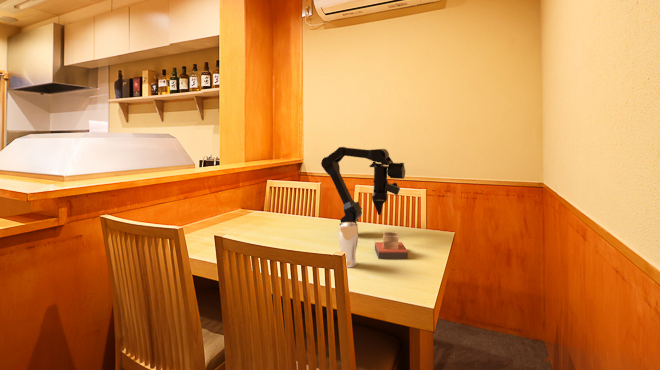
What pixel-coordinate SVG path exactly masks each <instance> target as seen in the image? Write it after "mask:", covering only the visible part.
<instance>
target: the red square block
mask: <svg viewBox="0 0 660 370" xmlns="http://www.w3.org/2000/svg"><path fill="white" fill-rule="evenodd" d="M374 252H375V253H376V256H377V259H378V260H409V259H408V257H409V255H408V252H409V251H408V249H407V248H406V246H405V245H404V243H403V242H402V241H398V249H383V241H375V242H374Z"/></svg>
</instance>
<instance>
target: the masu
mask: <svg viewBox="0 0 660 370" xmlns="http://www.w3.org/2000/svg"><path fill="white" fill-rule="evenodd" d="M382 235H383V236H382V242H383V249H398V242H399V233H398V232H395V231H394V232H393V231H390V232H388V231H383V232H382Z"/></svg>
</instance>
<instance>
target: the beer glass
mask: <svg viewBox="0 0 660 370" xmlns="http://www.w3.org/2000/svg"><path fill="white" fill-rule="evenodd" d="M358 225H359V224H358V223H354V222H343V223H341V222H339V224H338V243H339V248H340V249H339V250H340V253H341V252H345V253H346V259H347V267H348V268H355V267H356V266H357V263H358V262H357V260H356V259H357V258H356V257H357V256H356V254H357V247H358V242H359V226H358Z"/></svg>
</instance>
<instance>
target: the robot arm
mask: <svg viewBox="0 0 660 370" xmlns="http://www.w3.org/2000/svg"><path fill="white" fill-rule="evenodd" d="M389 153H390V152H389V151H388V150H387V149H385V148H376V149H365V148H363V149H362V148H354V147H345V146H339V147H338V148H337V149H336V150H334V151H333V152H331V153H330V154H329V155H327V156H326V157H325V156H324V157H323V158H322V159H321V162H320V164H321V167H322V169H323V170H324V171H325V173H326V174H327V175H329V176H330V178H331V180H332V182H333V185H334V186H335V189H336V191H337V194H338V195H339V197H340V199H341V202H342V204H343V213H344V216H342V217H341V219H340V223H343V222H354V223H357V222H358V220H359V218H361V217H362V214H363V211H362V210H363V208H362V207H361V205H360V202H359V201H354V200H353V197H352V195H351V193H350V191H349V189H348V187H347V185H346V183H345V181H344V179H343V176H342V174H341V171H340V169H341V168H340V164H339V163H340V162H341V161H342V160H343V158H344V157H345V156H346V157H352V158H353V157H354V158H360V159H367V160H369V161H372V163H371V164H370V165H369V166H368V167H369V168H373V193H372V195H371V200H372V202H373V205H374V207H375V211H376V212H377V215H378V216H381V214H382V211H383V206H384V204H385V203H386V202H387V201H388V193H392V194H394V195H395V196H398V195H399V193H400V189H401V188H400V186H398V183H396V182H392V183H390V182H389V180H388V177H389V178H390V179H397V180H398V179H400V180H401V179H403V180H404V179H405V176H406V168H405V162H393V160H392V159H391V157H390V154H389ZM357 224H358V223H357Z"/></svg>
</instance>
